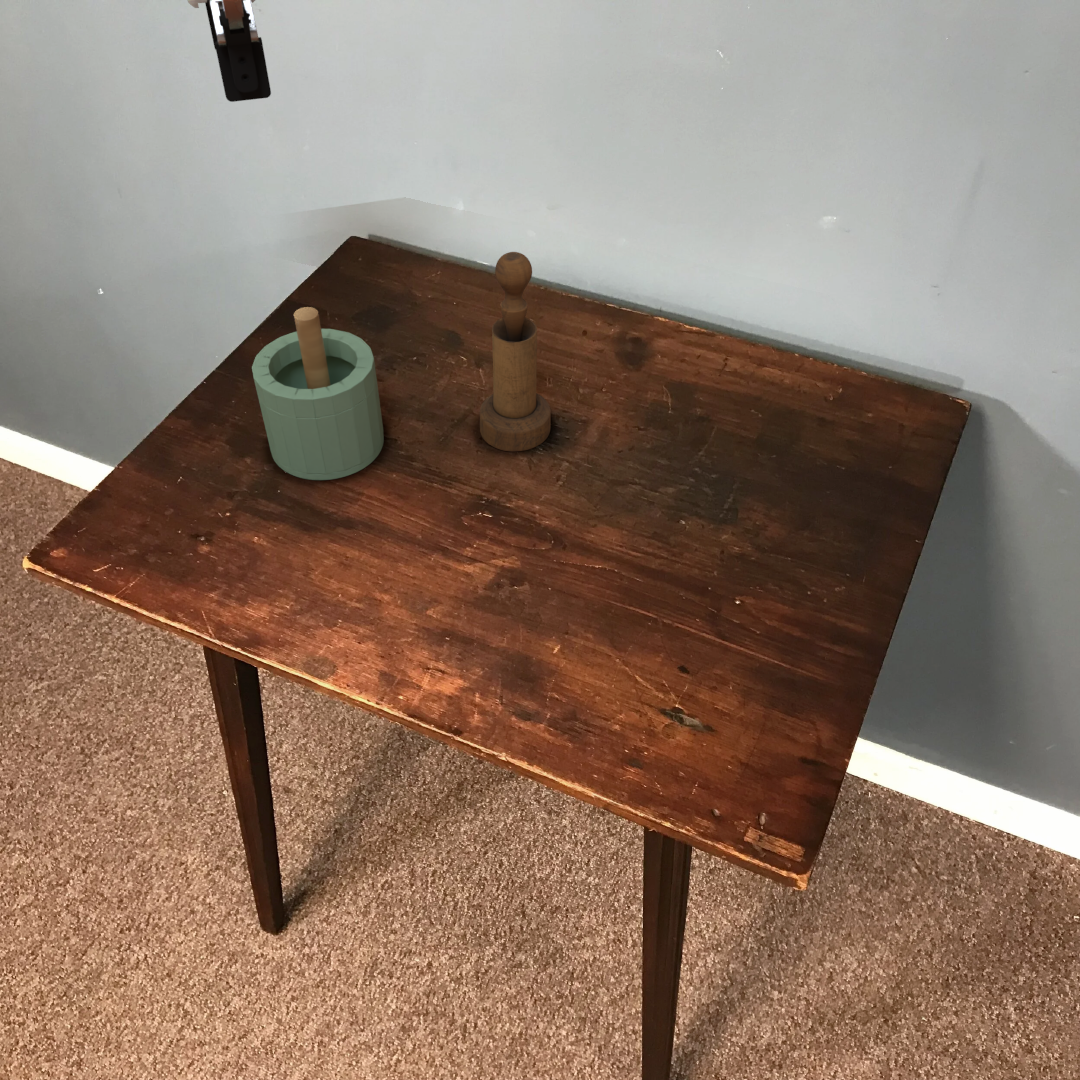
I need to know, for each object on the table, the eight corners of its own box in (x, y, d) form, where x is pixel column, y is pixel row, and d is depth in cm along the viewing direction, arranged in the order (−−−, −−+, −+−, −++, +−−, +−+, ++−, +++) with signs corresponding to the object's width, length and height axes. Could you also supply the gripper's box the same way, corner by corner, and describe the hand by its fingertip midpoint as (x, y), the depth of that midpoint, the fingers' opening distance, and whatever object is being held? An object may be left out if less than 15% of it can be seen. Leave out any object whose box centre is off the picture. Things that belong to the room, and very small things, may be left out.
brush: (295, 437, 94) (270, 315, 85) (314, 419, 96) (291, 297, 87) (342, 453, 93) (321, 330, 83) (360, 434, 94) (341, 311, 85)
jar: (278, 490, 90) (259, 408, 84) (265, 419, 97) (246, 339, 91) (393, 468, 92) (383, 386, 86) (372, 400, 99) (361, 320, 93)
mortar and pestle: (520, 461, 93) (519, 286, 80) (465, 433, 96) (455, 259, 83) (564, 425, 97) (569, 251, 84) (510, 398, 100) (507, 227, 87)
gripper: (124, -224, 71) (184, 37, 83) (132, -168, 60) (199, 126, 72) (235, -229, 73) (278, 28, 85) (264, -176, 61) (308, 113, 73)
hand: (242, 72), depth 78 cm, fingers open, 9 cm apart
